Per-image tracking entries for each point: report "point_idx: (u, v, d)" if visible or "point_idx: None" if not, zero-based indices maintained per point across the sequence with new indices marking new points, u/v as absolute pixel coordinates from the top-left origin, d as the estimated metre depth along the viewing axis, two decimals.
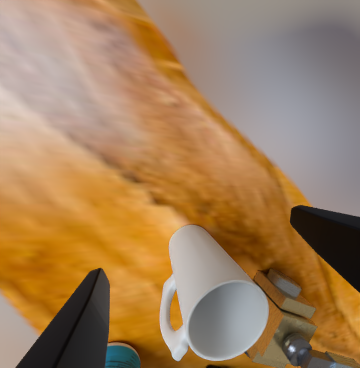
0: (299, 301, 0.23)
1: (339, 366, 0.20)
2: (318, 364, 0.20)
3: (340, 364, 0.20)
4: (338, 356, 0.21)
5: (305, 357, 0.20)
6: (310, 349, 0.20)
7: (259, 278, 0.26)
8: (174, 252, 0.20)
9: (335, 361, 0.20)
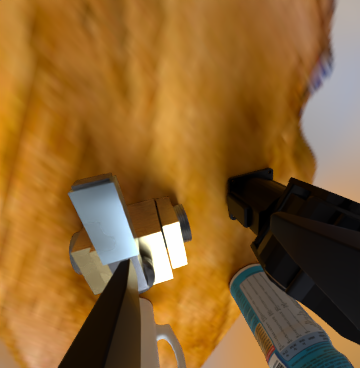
0: (84, 273, 0.16)
1: (105, 257, 0.11)
2: None
3: (100, 257, 0.11)
4: None
5: None
6: None
7: None
8: None
9: None
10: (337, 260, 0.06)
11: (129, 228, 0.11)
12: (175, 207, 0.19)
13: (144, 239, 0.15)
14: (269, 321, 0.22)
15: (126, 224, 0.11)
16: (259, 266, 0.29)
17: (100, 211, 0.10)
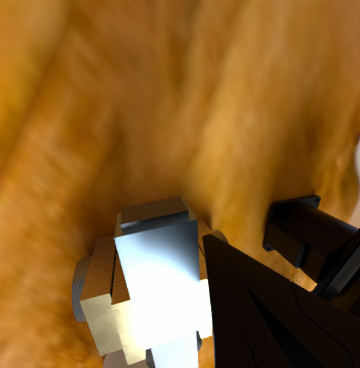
0: (91, 327, 0.11)
1: (150, 337, 0.06)
2: (171, 364, 0.08)
3: (144, 338, 0.06)
4: None
5: None
6: None
7: None
8: None
9: None
10: None
11: (198, 291, 0.06)
12: None
13: None
14: None
15: (197, 286, 0.06)
16: None
17: (162, 268, 0.05)
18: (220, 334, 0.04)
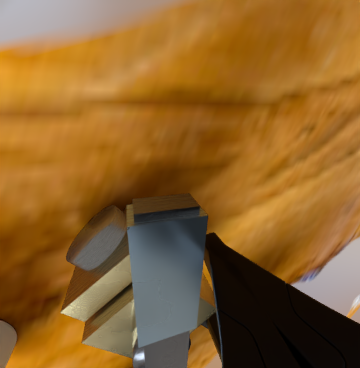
0: (99, 276, 0.09)
1: (146, 335, 0.06)
2: (161, 365, 0.08)
3: (139, 336, 0.06)
4: None
5: None
6: (144, 353, 0.09)
7: None
8: None
9: None
10: None
11: (198, 289, 0.06)
12: None
13: (202, 304, 0.11)
14: None
15: (198, 284, 0.06)
16: None
17: (168, 262, 0.05)
18: (226, 331, 0.04)
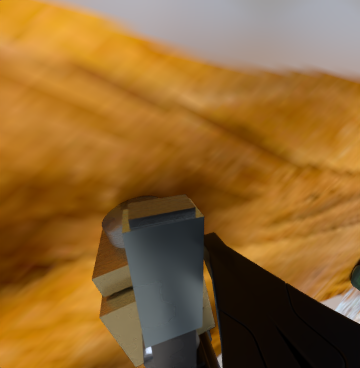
0: None
1: (152, 335, 0.06)
2: (170, 363, 0.08)
3: (145, 337, 0.06)
4: None
5: None
6: None
7: None
8: None
9: None
10: None
11: (201, 289, 0.06)
12: None
13: (208, 316, 0.12)
14: None
15: (200, 284, 0.06)
16: None
17: (168, 264, 0.05)
18: (227, 331, 0.04)
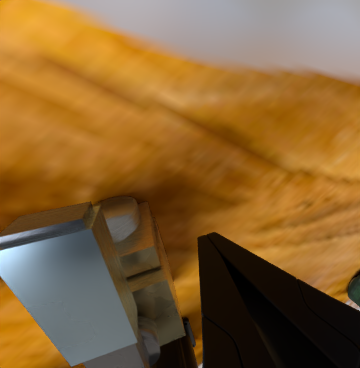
0: None
1: (74, 354, 0.06)
2: None
3: (66, 356, 0.06)
4: None
5: None
6: None
7: None
8: None
9: None
10: (250, 294, 0.05)
11: (122, 305, 0.06)
12: None
13: (177, 324, 0.11)
14: None
15: (116, 300, 0.06)
16: None
17: (63, 283, 0.05)
18: (209, 339, 0.03)
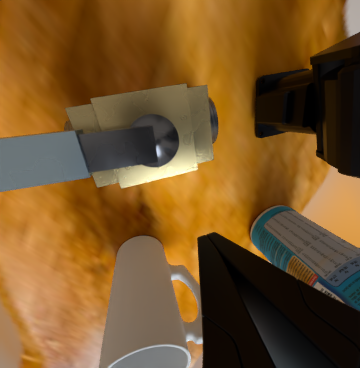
0: None
1: (75, 173, 0.09)
2: (130, 153, 0.09)
3: (76, 178, 0.09)
4: None
5: None
6: None
7: None
8: None
9: None
10: (250, 294, 0.05)
11: (22, 137, 0.08)
12: None
13: (163, 92, 0.11)
14: (307, 251, 0.18)
15: (12, 140, 0.08)
16: (285, 206, 0.25)
17: None
18: (209, 338, 0.03)
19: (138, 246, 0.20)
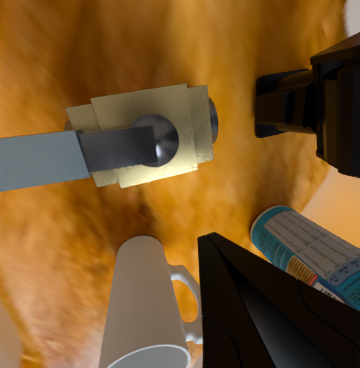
0: None
1: (75, 173, 0.09)
2: (130, 153, 0.09)
3: (76, 178, 0.09)
4: None
5: None
6: None
7: None
8: None
9: None
10: (250, 294, 0.05)
11: (22, 137, 0.08)
12: None
13: (163, 92, 0.11)
14: (307, 251, 0.18)
15: (12, 140, 0.08)
16: (285, 206, 0.25)
17: None
18: (209, 339, 0.03)
19: (138, 246, 0.20)
